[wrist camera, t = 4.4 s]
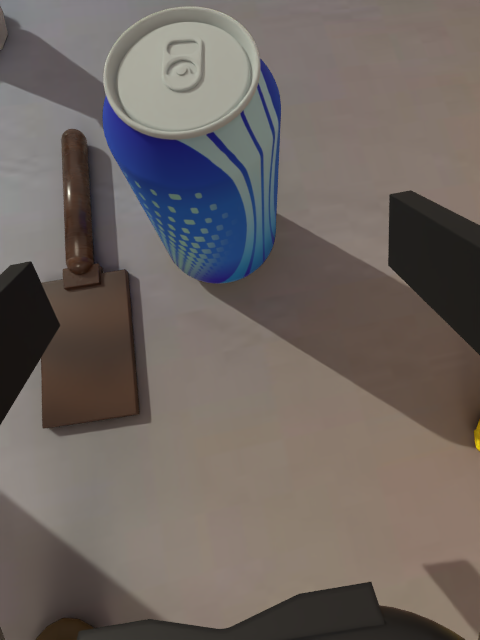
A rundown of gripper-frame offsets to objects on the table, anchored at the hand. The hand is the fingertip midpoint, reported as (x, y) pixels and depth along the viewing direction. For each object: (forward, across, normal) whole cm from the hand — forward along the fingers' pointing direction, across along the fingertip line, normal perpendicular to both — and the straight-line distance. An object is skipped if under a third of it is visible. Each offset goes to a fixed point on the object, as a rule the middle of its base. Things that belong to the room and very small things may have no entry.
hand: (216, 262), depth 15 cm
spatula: (+17, -11, -5) cm, 21 cm away
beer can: (+17, 0, -5) cm, 18 cm away
